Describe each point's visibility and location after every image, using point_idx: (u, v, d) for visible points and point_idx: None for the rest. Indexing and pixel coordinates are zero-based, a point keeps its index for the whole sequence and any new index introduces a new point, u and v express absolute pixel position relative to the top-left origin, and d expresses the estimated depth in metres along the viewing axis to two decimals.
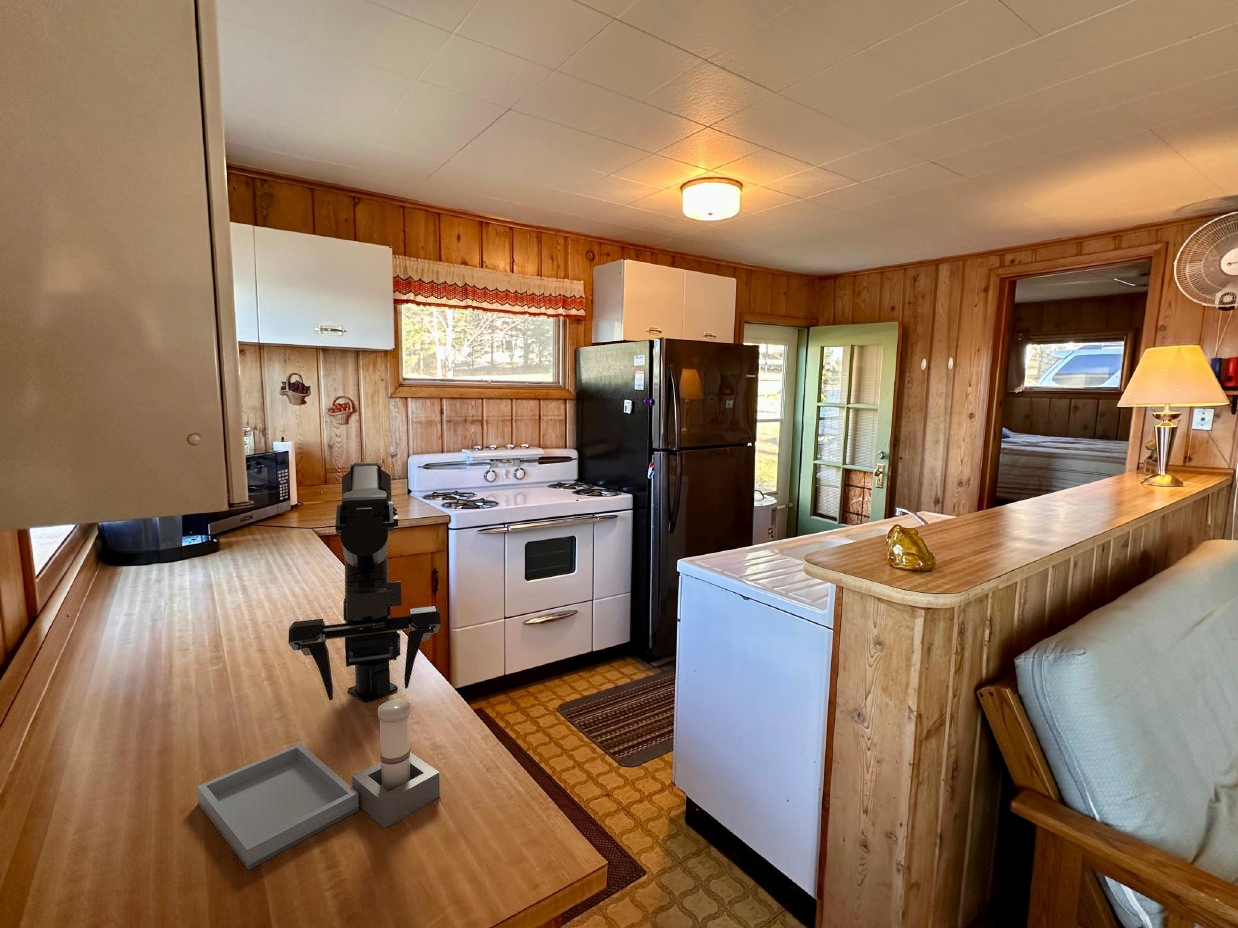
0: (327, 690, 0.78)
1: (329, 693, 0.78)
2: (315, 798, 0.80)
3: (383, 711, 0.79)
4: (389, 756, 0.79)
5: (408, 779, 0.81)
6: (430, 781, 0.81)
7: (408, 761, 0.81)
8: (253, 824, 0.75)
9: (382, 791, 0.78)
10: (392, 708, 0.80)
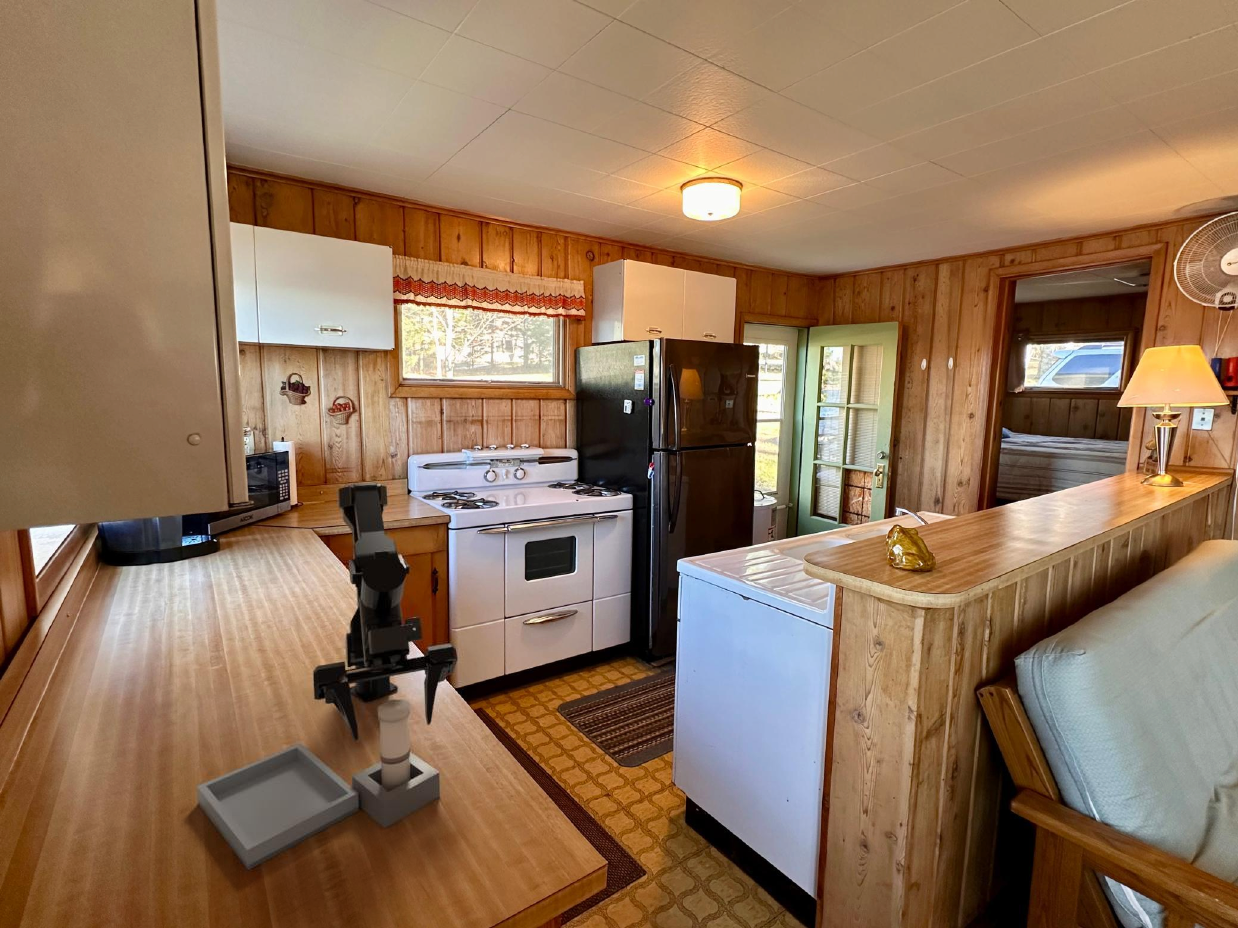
0: (353, 730, 0.79)
1: (355, 733, 0.79)
2: (315, 798, 0.80)
3: (383, 710, 0.79)
4: (389, 756, 0.79)
5: (408, 779, 0.81)
6: (430, 781, 0.81)
7: (408, 761, 0.81)
8: (253, 824, 0.75)
9: (382, 791, 0.78)
10: (392, 708, 0.80)
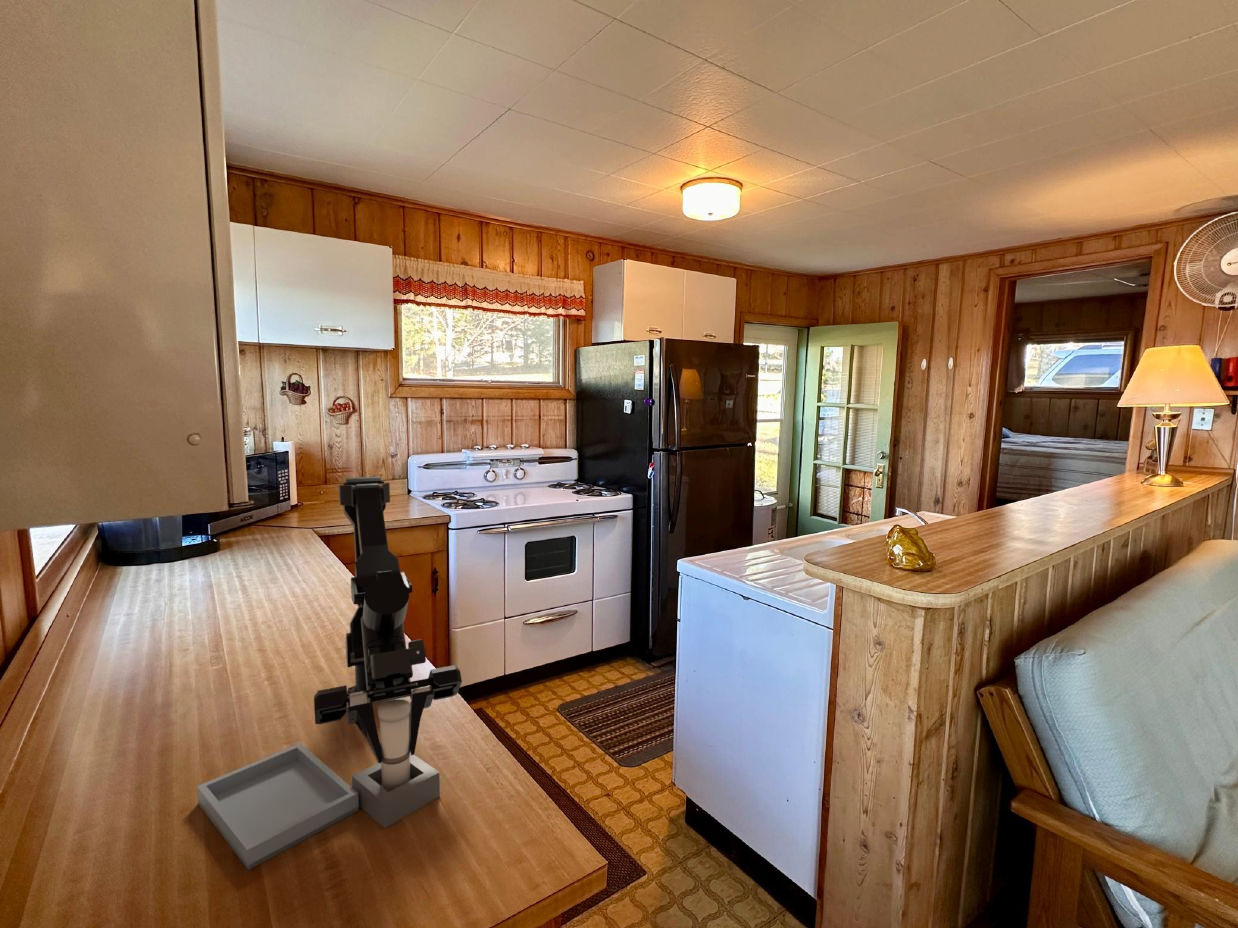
0: (376, 752, 0.79)
1: (379, 755, 0.78)
2: (315, 798, 0.80)
3: (383, 711, 0.79)
4: (389, 756, 0.79)
5: (408, 779, 0.81)
6: (430, 781, 0.81)
7: (408, 761, 0.81)
8: (253, 824, 0.75)
9: (382, 791, 0.78)
10: (392, 708, 0.80)
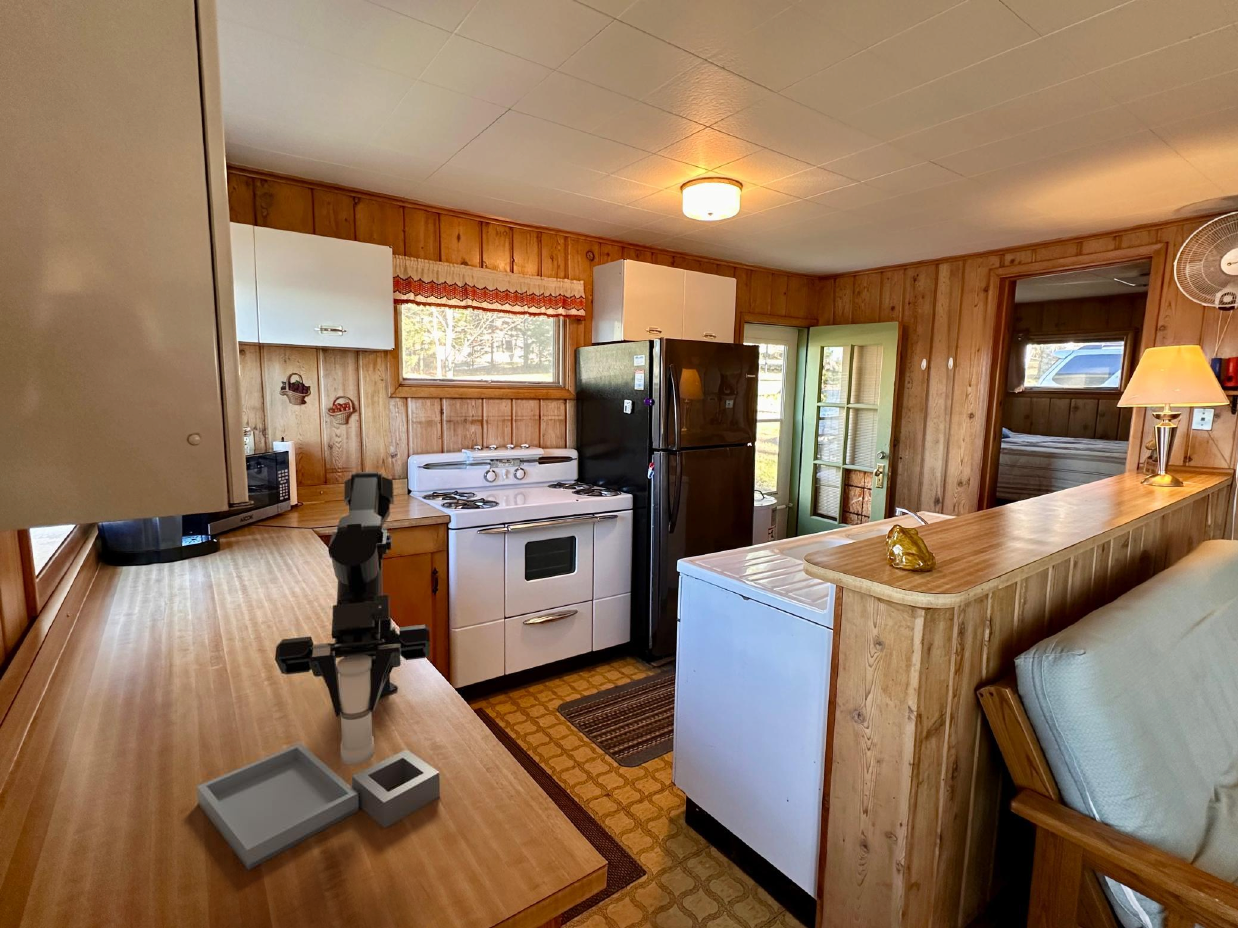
0: (334, 705, 0.77)
1: (336, 708, 0.76)
2: (315, 798, 0.80)
3: (342, 664, 0.77)
4: (347, 711, 0.77)
5: (368, 737, 0.78)
6: (430, 781, 0.81)
7: (368, 718, 0.78)
8: (253, 824, 0.75)
9: (382, 791, 0.78)
10: (352, 662, 0.77)
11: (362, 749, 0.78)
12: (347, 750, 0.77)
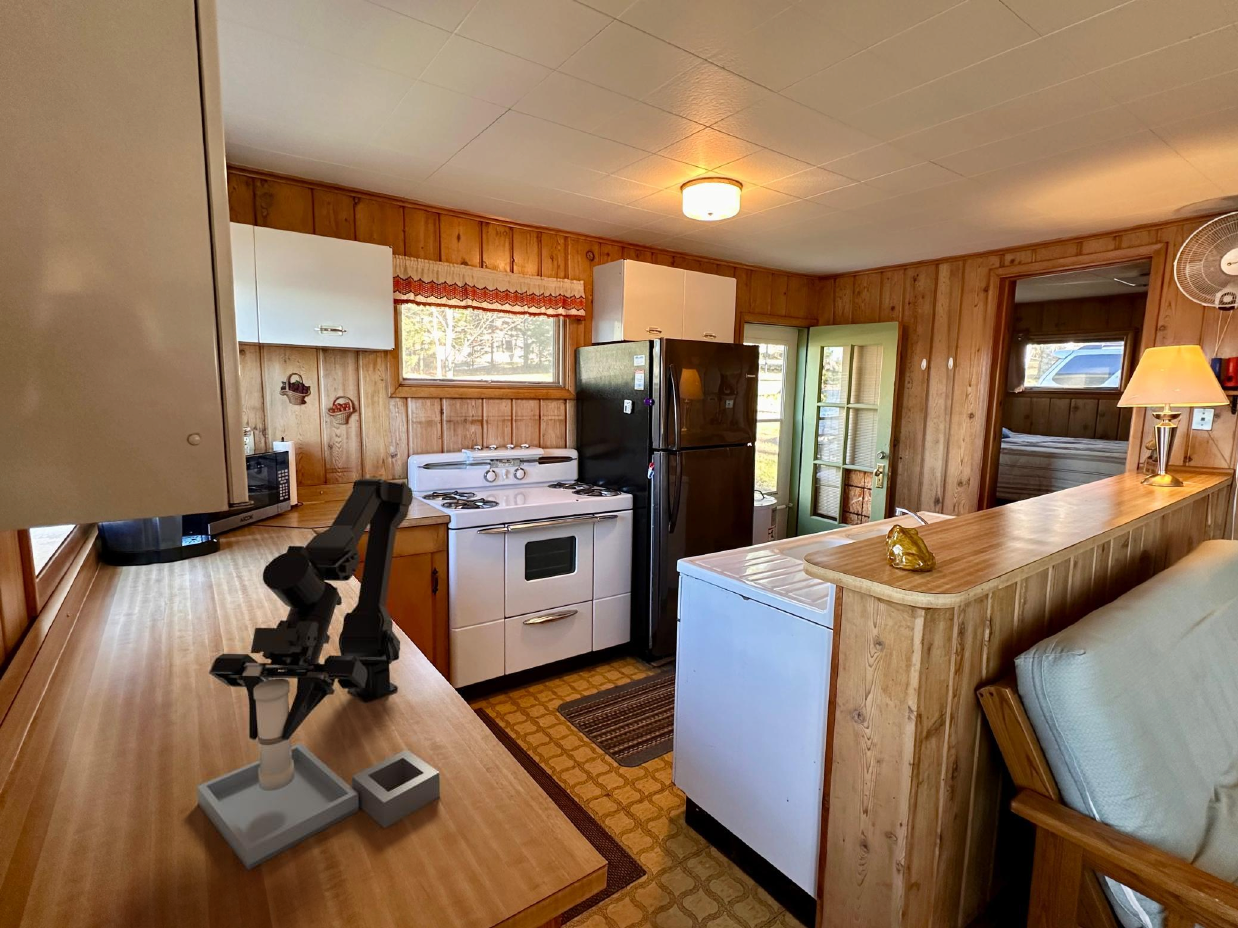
0: (250, 728, 0.77)
1: (251, 731, 0.77)
2: (315, 798, 0.80)
3: (258, 687, 0.77)
4: (260, 735, 0.77)
5: (282, 764, 0.78)
6: (430, 781, 0.81)
7: (282, 745, 0.77)
8: (253, 824, 0.75)
9: (382, 791, 0.78)
10: (268, 687, 0.77)
11: (274, 776, 0.77)
12: (260, 774, 0.77)
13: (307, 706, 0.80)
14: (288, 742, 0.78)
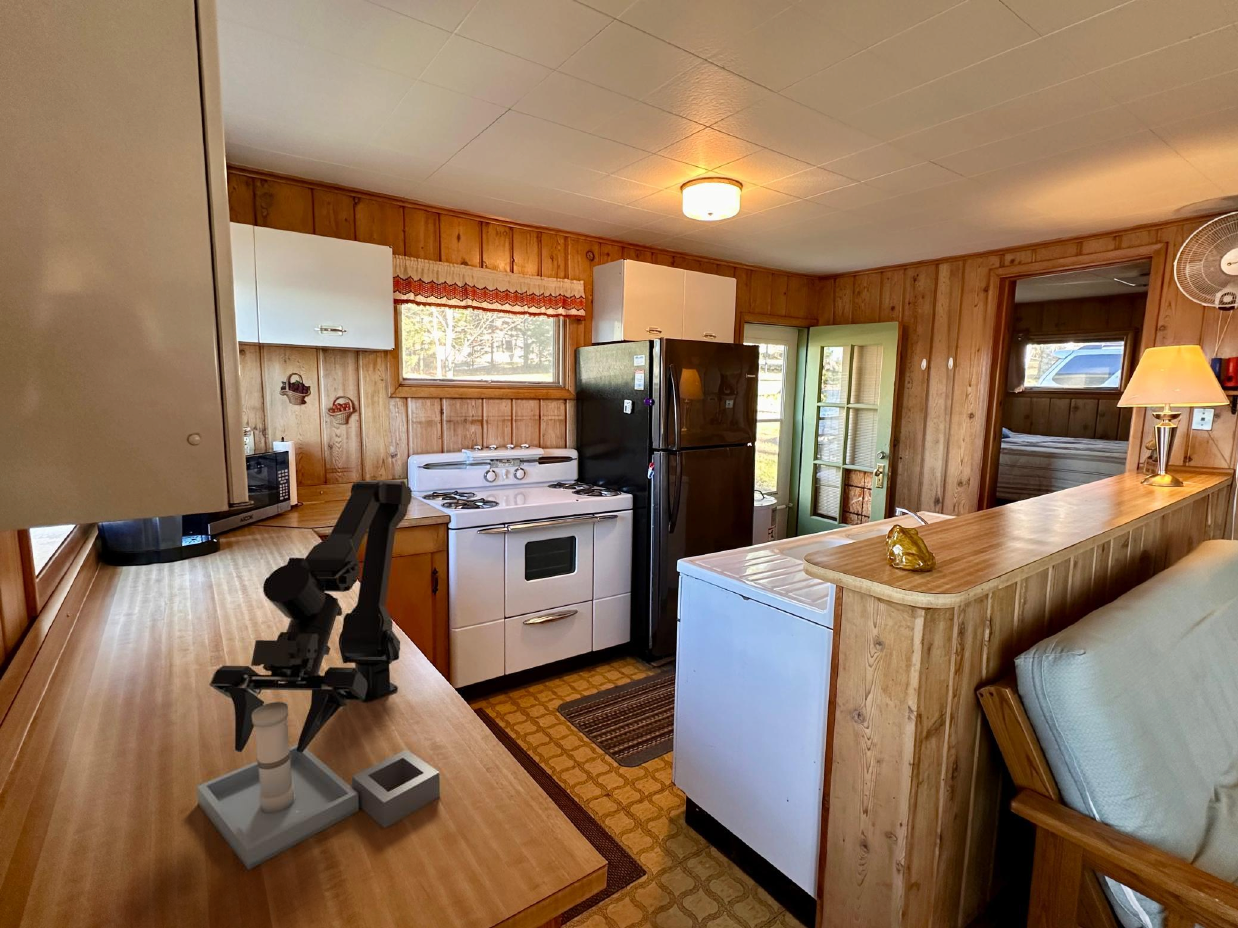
0: (236, 740, 0.77)
1: (237, 743, 0.77)
2: (315, 798, 0.80)
3: (256, 712, 0.77)
4: (259, 760, 0.77)
5: (282, 787, 0.78)
6: (430, 781, 0.81)
7: (282, 769, 0.78)
8: (253, 824, 0.75)
9: (382, 791, 0.78)
10: (266, 711, 0.77)
11: (274, 799, 0.77)
12: (261, 797, 0.77)
13: (321, 718, 0.80)
14: (288, 765, 0.78)
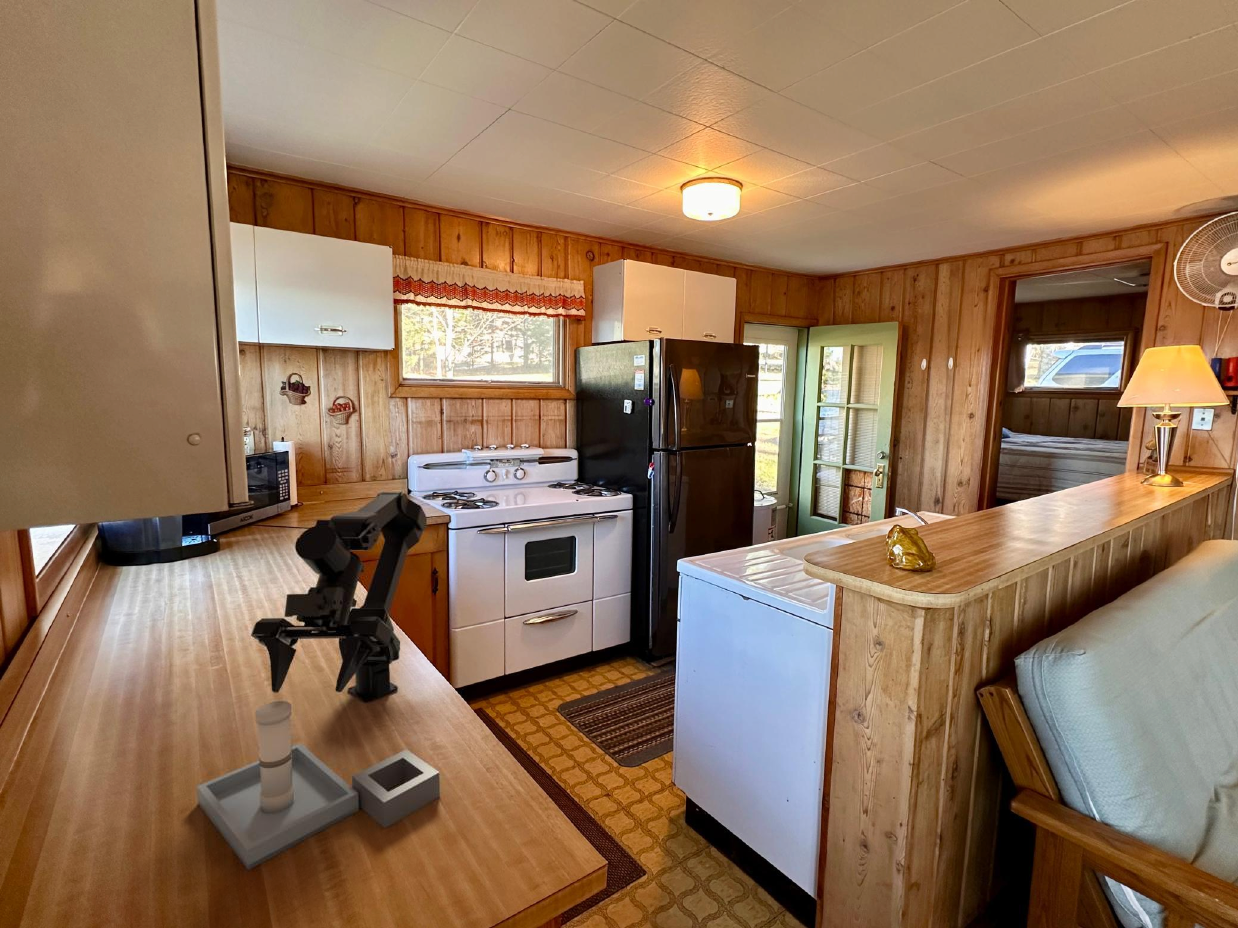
0: (272, 682, 0.86)
1: (273, 685, 0.86)
2: (315, 798, 0.80)
3: (260, 710, 0.77)
4: (261, 758, 0.77)
5: (283, 787, 0.78)
6: (430, 781, 0.81)
7: (283, 768, 0.78)
8: (253, 824, 0.75)
9: (382, 791, 0.78)
10: (270, 710, 0.77)
11: (275, 798, 0.77)
12: (261, 797, 0.77)
13: (356, 662, 0.89)
14: (289, 765, 0.79)
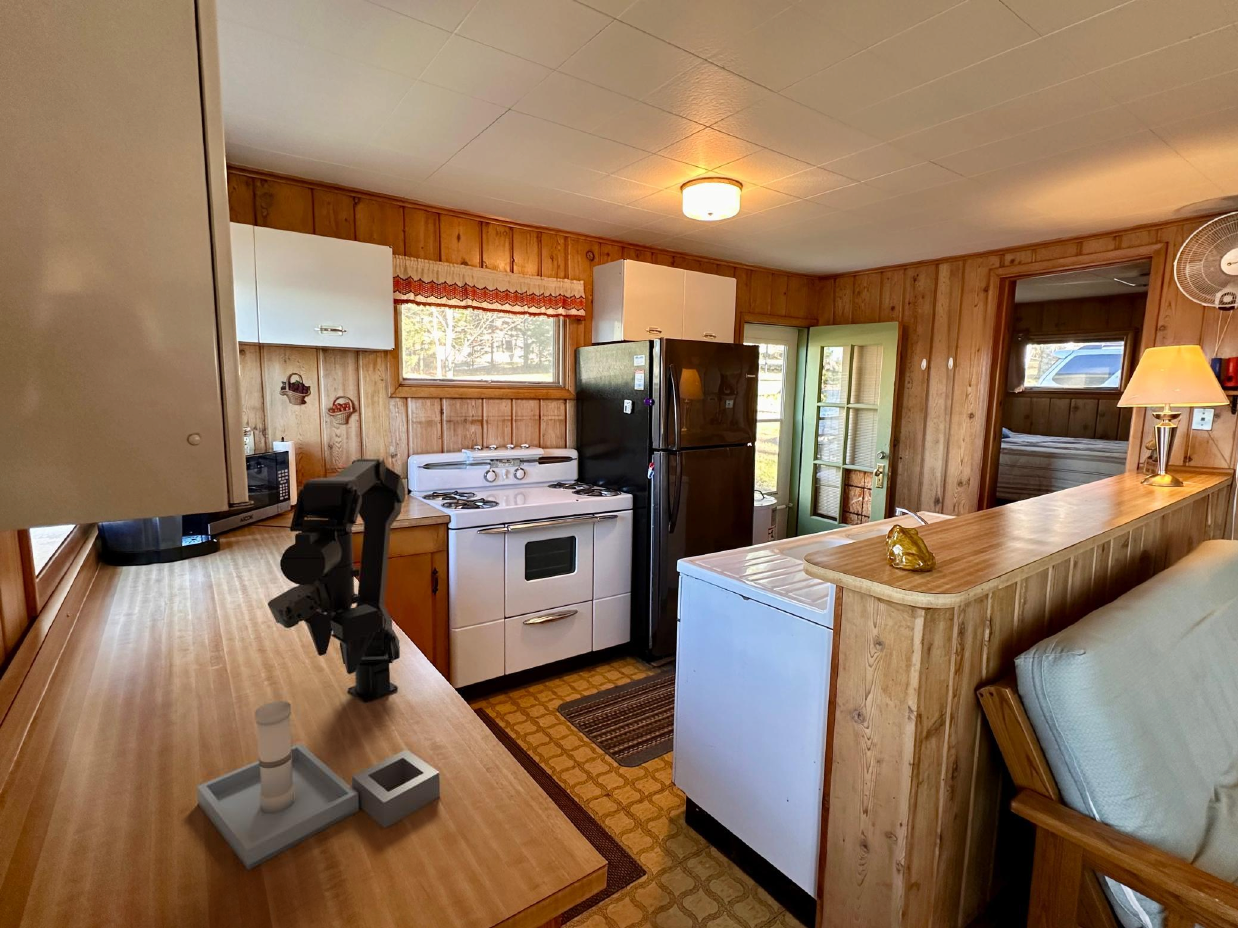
0: (316, 648, 0.94)
1: (317, 651, 0.94)
2: (315, 798, 0.80)
3: (259, 710, 0.77)
4: (261, 758, 0.77)
5: (283, 787, 0.78)
6: (430, 781, 0.81)
7: (283, 768, 0.78)
8: (253, 824, 0.75)
9: (382, 791, 0.78)
10: (269, 710, 0.77)
11: (275, 798, 0.77)
12: (261, 797, 0.77)
13: (359, 646, 0.88)
14: (289, 765, 0.79)
